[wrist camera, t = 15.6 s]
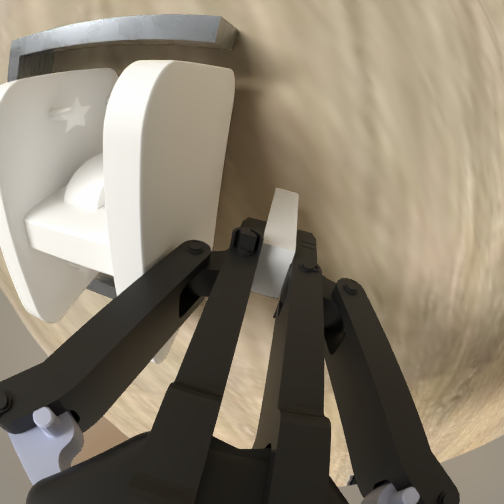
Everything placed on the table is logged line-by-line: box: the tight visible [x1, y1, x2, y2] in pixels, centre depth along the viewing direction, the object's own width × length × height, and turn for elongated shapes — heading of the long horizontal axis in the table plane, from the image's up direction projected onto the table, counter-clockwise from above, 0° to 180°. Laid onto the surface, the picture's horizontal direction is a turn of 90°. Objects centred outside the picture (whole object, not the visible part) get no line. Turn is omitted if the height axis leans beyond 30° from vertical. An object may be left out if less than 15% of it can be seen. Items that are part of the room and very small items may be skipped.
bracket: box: [7, 14, 238, 299], centre depth 18 cm, size 17×21×4 cm
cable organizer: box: [0, 60, 235, 364], centre depth 15 cm, size 15×11×12 cm
